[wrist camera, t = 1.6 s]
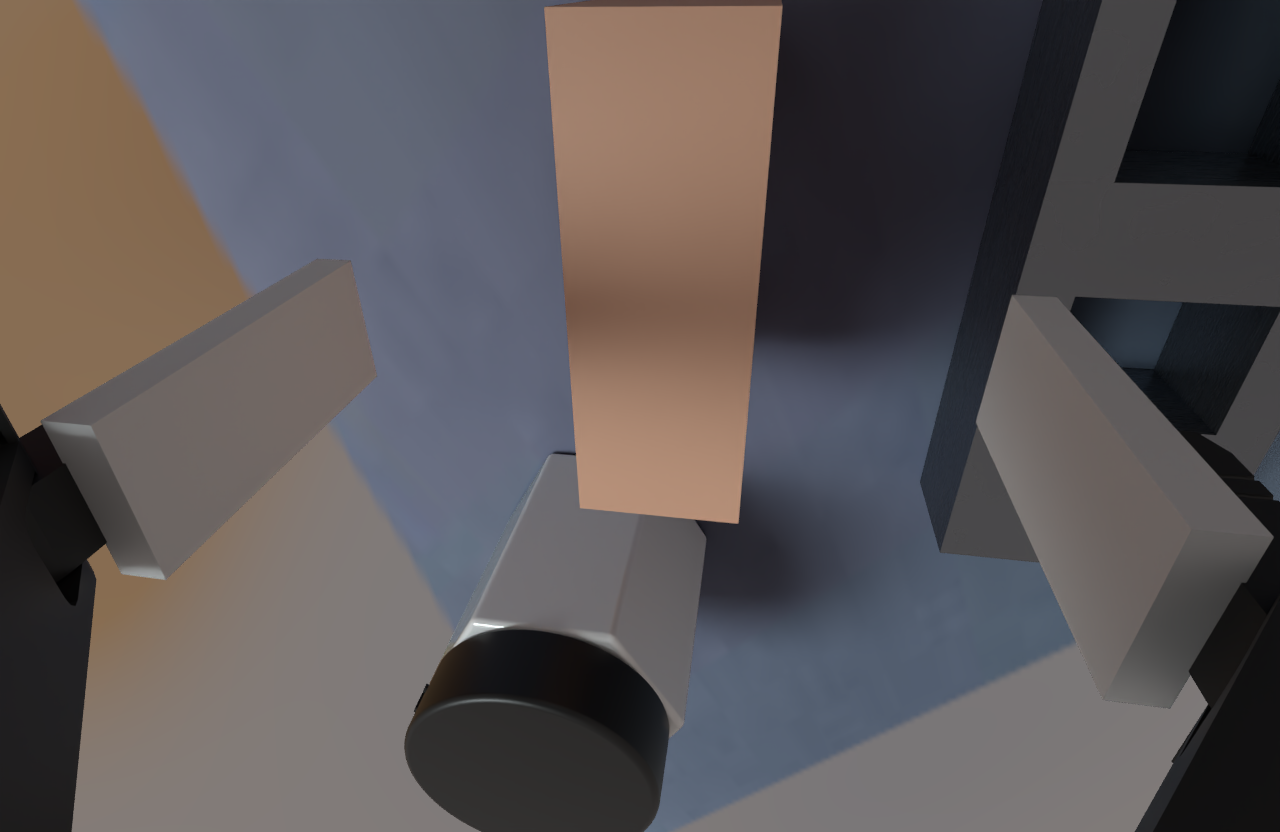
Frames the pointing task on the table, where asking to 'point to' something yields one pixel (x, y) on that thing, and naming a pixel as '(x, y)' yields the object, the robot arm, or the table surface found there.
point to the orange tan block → (662, 240)
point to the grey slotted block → (1115, 258)
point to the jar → (564, 669)
